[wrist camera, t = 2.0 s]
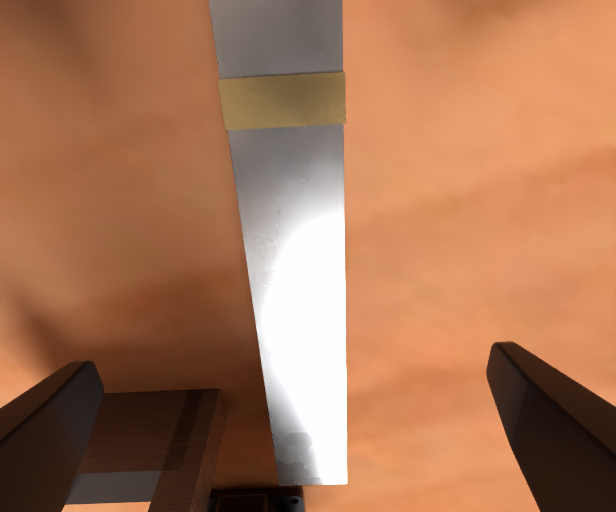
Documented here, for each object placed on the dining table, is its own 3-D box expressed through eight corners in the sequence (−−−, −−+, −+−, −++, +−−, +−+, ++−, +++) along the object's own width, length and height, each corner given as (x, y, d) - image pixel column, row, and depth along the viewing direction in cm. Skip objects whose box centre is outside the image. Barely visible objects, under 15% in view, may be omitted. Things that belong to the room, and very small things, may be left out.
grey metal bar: (342, 424, 20) (348, 484, 18) (281, 427, 20) (278, 487, 18) (332, -180, 10) (342, -264, 7) (206, -171, 10) (168, -251, 7)
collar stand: (226, 417, 20) (190, 588, 14) (77, 423, 20) (-24, 594, 14) (109, -111, 10) (-183, -333, 4) (-173, -91, 10) (-860, -279, 4)
